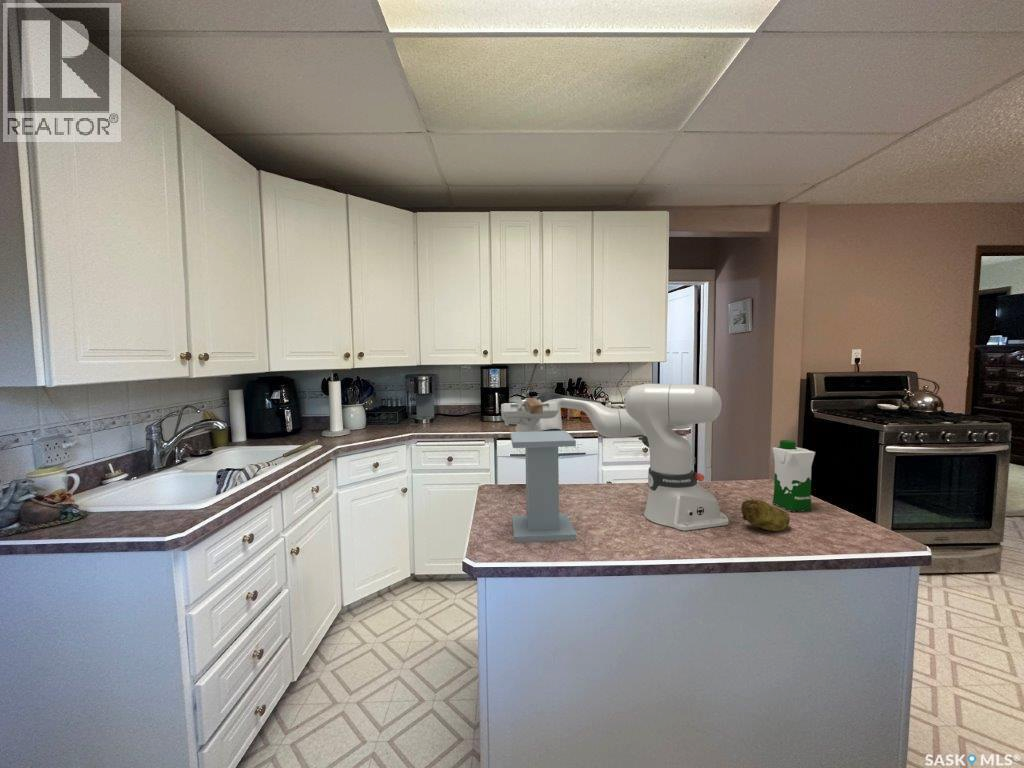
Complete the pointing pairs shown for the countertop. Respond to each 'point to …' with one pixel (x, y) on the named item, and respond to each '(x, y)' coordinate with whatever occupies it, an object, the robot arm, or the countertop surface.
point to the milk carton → (792, 476)
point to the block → (534, 406)
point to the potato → (764, 515)
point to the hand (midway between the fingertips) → (531, 401)
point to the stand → (542, 488)
